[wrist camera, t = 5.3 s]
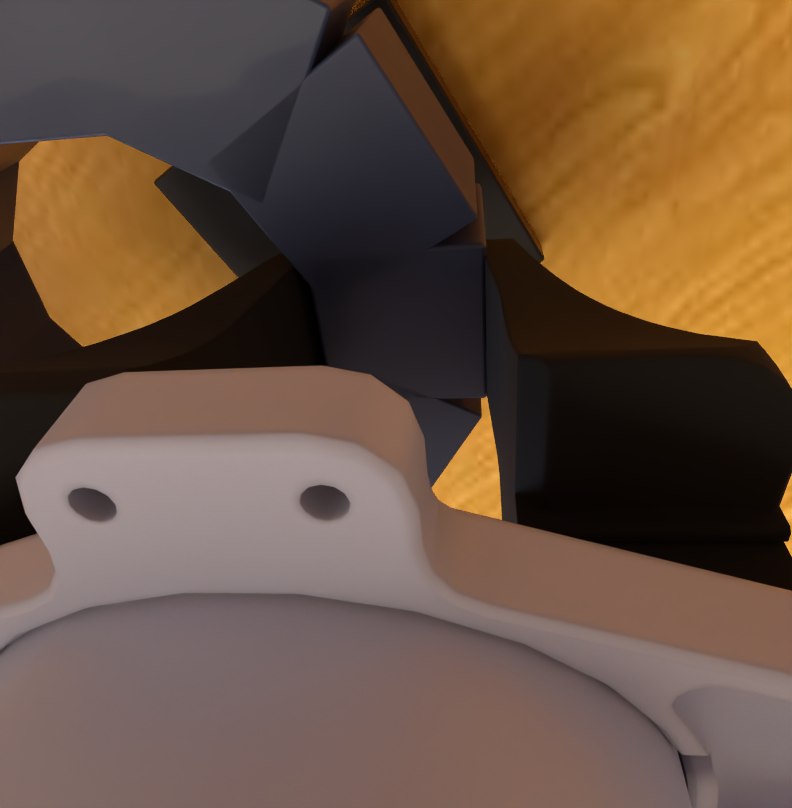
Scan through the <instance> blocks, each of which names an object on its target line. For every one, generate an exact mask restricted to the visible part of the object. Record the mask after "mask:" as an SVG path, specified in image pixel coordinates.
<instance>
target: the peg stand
mask: <svg viewBox="0 0 792 808" xmlns="http://www.w3.org/2000/svg"><path fill="white" fill-rule="evenodd" d="M376 8H380V9H382V11H383V13H384V14H385V16H386V17H387V19H388V21H389V22H390V24H391V25H392V27H393V29H394V30H395V32H396V34H397V35H398V37H399V38H400V40H401V42H402V43H403V45H404V47H405V48H406V50H407V51H408V53H409V55H410V56H411V58H412V59H413V61H414V63H415V64H416V66H417V68H418V69H419V71H420V72H421V74H422V76H423V77H424V79H425V81H426V82H427V84H428V85H429V87H430V89H431V90H432V92H433V94H434V95H435V97H436V98H437V100H438V102H439V103H440V105H441V106H442V108H443V110H444V111H445V113H446V115H447V116H448V118H449V119H450V121H451V123H452V124H453V126H454V128H455V129H456V131H457V132H458V134H459V136H460V137H461V139H462V140H463V142H464V144H465V145H466V147H467V149H468V150H469V152H470V153H471V155H472V157H473V158H474V170H475V183H478V184H480V185H481V188H482V200H483V212H484V225H485V237H486V240H489V239H506V238H513V239H515V240H516V241H517V242H518V243H519V244H520V245H521V246H522V247H523V248H524V249H525V250H526V251H527V252H528V253H529V254H530V255H531V256H532V257H533V258H534V259H536V260H537V261H538V262H539V263H540V262H542V261H543V260H544V255H543V251H542V247H541V244H540V242H539V240H538V239H537V237H536V235H535V234H534V232H533V230H532V229H531V227H530V225H529V224H528V222H527V220H526V219H525V217H524V215H523V214H522V212H521V210H520V208H519V207H518V205H517V203H516V202H515V200H514V198H513V197H512V195H511V193H510V192H509V190H508V188H507V187H506V185H505V183H504V182H503V180H502V178H501V177H500V175H499V173H498V171H497V170H496V168H495V166H494V165H493V163H492V161H491V160H490V158H489V156H488V155H487V153H486V151H485V150H484V148H483V146H482V145H481V143H480V141H479V140H478V138H477V136H476V134H475V133H474V131H473V129H472V128H471V126H470V124H469V123H468V121H467V119H466V118H465V116H464V114H463V113H462V111H461V109H460V108H459V106H458V104H457V103H456V101H455V99H454V97H453V96H452V94H451V92H450V91H449V89H448V87H447V86H446V84H445V82H444V81H443V79H442V77H441V76H440V74H439V72H438V71H437V69H436V67H435V65H434V64H433V62H432V60H431V59H430V57H429V55H428V54H427V52H426V50H425V49H424V47H423V45H422V44H421V42H420V40H419V39H418V37H417V35H416V34H415V32H414V30H413V28H412V27H411V25H410V23H409V22H408V20H407V18H406V17H405V15H404V13H403V12H402V10H401V8H400V7H399V5H398V3H397V2H396V0H368V1H367V2H366V3H365V4H364V5H362V6H361V7H360V8H359V9H358V10H356V11H355V12H354V13H353V14H352V15H350V16H349V19H348V22H347V24H346V27H345V30H344V33H343V36H344V35H345V34H347V33H348V32H349V31H350V30H351V29H352V28H354V27H355V26H356V25H357V24H358V23H360V22H361V21H362V20H363V19H364V18H366V17H367V16H368V15H369V14H370V13H372V12H373V11H374V10H375V9H376ZM343 36H342V37H343ZM154 183H155V185H156V186H157V187H158V188H159V189H160V191H161V192H162V193H163V194H164V195H165V196H166V197H167V198H168V200H169V201H170V202H171V203H172V204H173V205H174V206H175V207H176V208H177V210H178V211H179V212H180V213H181V214H182V215H183V216H184V217H185V219H186V220H187V221H188V222H189V223H190V224H191V225H192V226H193V227H194V229H195V230H196V231H197V232H198V233H199V234H200V235H201V236H202V238H203V239H204V240H205V241H206V242H207V243H208V244H209V245H210V247H211V248H212V249H213V250H214V251H215V252H216V253H217V254H218V255H219V257H220V258H221V259H222V260H223V261H224V262H225V263H226V264H227V266H228V267H229V268H230V269H231V270H232V271H233V272H234V273H235V274H236V276H237V277H238V278H239V277H241V276H243V275H244V274H246V273H247V272H249V271H250V270H252V269H254V268H255V267H257V266H258V265H260V264H262V263H263V262H265V261H267V260H268V259H270V258H272V257H274V256H275V255H277V254H280V253H281V251H280V250H279V249H278V248H277V247H276V245H275V244H274V243H273V242H272V241H271V240H270V238H269V237H268V236H267V235H266V234H265V232H264V231H263V230H262V229H261V228H260V227H259V225H258V224H257V223H256V222H255V221H254V219H253V218H252V217H251V216H250V215H249V214H248V212H247V211H246V210H245V209H244V208H243V206H242V205H241V204H240V203H239V202H238V201H237V199H236V198H235V197H234V196H233V195H232V193H231V192H230V191H228V190H225V189H223V188H221V187H219V186H217V185H215V184H212V183H210V182H208V181H206V180H204V179H201V178H199V177H197V176H195V175H193V174H190V173H188V172H186V171H184V170H182V169H179V168H177V167H175V166H173V165H172V166H171V167H170V168H169V169H167V170H166V171H165V172H164V173H163V174H162V175H160V176H159V177H158V178H157V179H156V180H155V182H154Z"/></svg>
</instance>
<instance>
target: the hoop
mask: <svg viewBox="0 0 792 808" xmlns="http://www.w3.org/2000/svg"><path fill="white" fill-rule="evenodd" d="M354 2H355V0H0V365H1V364H7V363H13V362H19V361H25V360H30V359H35V358H40V357H44V356H49V355H53V354H57V353H62V352H66V351H70V350H74V349H77V348H81V347H82V346H81V345H80V344H79V343H78V342H77V341H75V340H74V339H73V338H72V337H71V336H70V335H69V334H68V333H66V332H65V331H64V330H63V329H62V328H61V327H60V326H59V325H57V324H56V323H55V322H54V321H53V320H52V319H51V318H50V317H49V315H48V313H47V311H46V309H45V307H44V305H43V302H42V300H41V298H40V296H39V294H38V292H37V290H36V288H35V286H34V284H33V282H32V279H31V277H30V275H29V273H28V271H27V269H26V267H25V265H24V263H23V261H22V259H21V257H20V254H19V252H18V250H17V248H16V246H15V244H14V242H13V231H14V218H15V206H16V193H17V181H18V168H19V161H20V160H21V159H22V158H23V157H24V156H25V155H26V154H27V153H28V152H29V151H30V150H31V149H32V148H33V147H34V146H35V145H36V144H37V143H38V142H39V141H49V140H60V139H72V138H84V137H96V136H109V137H111V138H114V139H116V140H118V141H120V142H122V143H125V144H127V145H129V146H131V147H133V148H136V149H138V150H140V151H142V152H144V153H146V154H149V155H151V156H153V157H155V158H157V159H160V160H162V161H164V162H166V163H168V164H171V165H173V166H175V167H177V168H179V169H182V170H184V171H186V172H188V173H190V174H193V175H195V176H197V177H199V178H201V179H204V180H206V181H208V182H210V183H212V184H215V185H217V186H219V187H221V188H223V189H225V190H228V191H230V192H231V193H232V195H233V196H234V197H235V198H236V199H237V201H238V202H239V203H240V204H241V205H242V206H243V208H244V209H245V210H246V211H247V212H248V214H249V215H250V216H251V217H252V218H253V219H254V221H255V222H256V223H257V224H258V225H259V227H260V228H261V229H262V230H263V231H264V232H265V234H266V235H267V236H268V237H269V238H270V240H271V241H272V242H273V243H274V244H275V245H276V247H277V248H278V249H279V250H280V251H281V253H282V254H283V255H284V256H285V257H286V258H287V260H288V261H289V262H290V263H291V264H292V266H293V267H294V268H295V269H296V270H297V271H298V273H299V274H300V275H301V276H302V277H303V279H304V280H305V281H306V282H307V283H308V284H309V286H310V289H311V294H312V299H313V304H314V310H315V315H316V320H317V325H318V330H319V335H320V340H321V345H322V351H323V356H324V361H325V366H328V367H333V368H338V369H344V370H349V371H355V372H360V373H365V374H371V375H372V376H374V377H375V378H376V379H378V380H379V381H381V382H382V383H383V384H385V385H386V386H388V387H389V388H390V389H392V390H393V391H395V392H396V393H397V394H399V395H400V396H402V397H403V398H404V399H406V400H407V401H409V403H410V406H411V408H412V410H413V413H414V415H415V417H416V419H417V422H418V424H419V426H420V428H421V431H422V433H423V435H424V439H425V450H426V462H427V473H428V478H429V481H430V485H431V487H432V486H433V485H434V483H435V482H436V480H437V479H438V478H439V476H440V475H441V473H442V472H443V471H444V469H445V468H446V466H447V465H448V463H449V462H450V461H451V459H452V458H453V456H454V455H455V454H456V452H457V451H458V449H459V448H460V447H461V445H462V444H463V442H464V441H465V439H466V438H467V437H468V435H469V434H470V432H471V431H472V430H473V428H474V427H475V425H476V424H477V423H478V421H479V420H480V418H481V416H482V412H481V398H484V397H486V396H487V370H486V291H485V256H486V237H485V225H484V212H483V200H482V188H481V185H480V184H478V183H475V170H474V158H473V157H472V155H471V153H470V152H469V150H468V149H467V147H466V145H465V144H464V142H463V140H462V139H461V137H460V136H459V134H458V132H457V131H456V129H455V128H454V126H453V124H452V123H451V121H450V119H449V118H448V116H447V115H446V113H445V111H444V110H443V108H442V106H441V105H440V103H439V102H438V100H437V98H436V97H435V95H434V94H433V92H432V90H431V89H430V87H429V85H428V84H427V82H426V81H425V79H424V77H423V76H422V74H421V72H420V71H419V69H418V68H417V66H416V64H415V63H414V61H413V59H412V58H411V56H410V55H409V53H408V51H407V50H406V48H405V47H404V45H403V43H402V42H401V40H400V38H399V37H398V35H397V34H396V32H395V30H394V29H393V27H392V25H391V24H390V22H389V21H388V19H387V17H386V16H385V14H384V13H383V11H382V9H380V8H376V9H375V10H374V11H373V12H372V13H370V14H369V15H368V16H367V17H366V18H364V19H363V20H362V21H361V22H360V23H358V24H357V25H356V26H355V27H354V28H352V29H351V30H350V31H349V32H348V33H347V34H345V35H344V36H343V33H344V30H345V27H346V24H347V22H348V19H349V16H350V13H351V10H352V7H353V5H354ZM342 36H343V37H342Z"/></svg>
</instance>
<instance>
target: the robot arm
mask: <svg viewBox="0 0 792 808" xmlns="http://www.w3.org/2000/svg"><path fill="white" fill-rule="evenodd" d="M485 291H486V370H487V398H488V403H489V409H490V415H491V421H492V426H493V432H494V438H495V444H496V450H497V455H498V464H499V472H500V489H501V507H502V520H499V519H495V518H491V517H486V516H482V515H478V514H474V513H470V512H466V511H462V510H458V509H454V508H450V507H449V506H447V505H445V504H444V503H442V502H441V501H439V500H438V499H437V497H436V496H435V494H434V493H433V491H432V489H431V485H430V481H429V478H428V473H427V462H426V450H425V439H424V435H423V433H422V431H421V428H420V426H419V424H418V422H417V419H416V417H415V415H414V413H413V410H412V408H411V406H410V403H409V401H407V400H406V399H404V398H403V397H402V396H400V395H399V394H397V393H396V392H395V391H393V390H392V389H390V388H389V387H388V386H386V385H385V384H383V383H382V382H381V381H379V380H378V379H376V378H375V377H374V376H372V375H371V374H365V373H360V372H355V371H349V370H344V369H338V368H333V367H328V366H325V361H324V356H323V351H322V345H321V340H320V335H319V330H318V325H317V320H316V315H315V310H314V304H313V299H312V294H311V289H310V286H309V284H308V283H307V282H306V281H305V280H304V279H303V277H302V276H301V275H300V274H299V273H298V271H297V270H296V269H295V268H294V267H293V266H292V264H291V263H290V262H289V261H288V260H287V258H286V257H285V256H284V255H283V254H282V253H280V254H277V255H275V256H274V257H272V258H270V259H268V260H267V261H265V262H263V263H262V264H260V265H258V266H257V267H255V268H254V269H252V270H250V271H249V272H247V273H246V274H244V275H243V276H241V277H239V278H238V279H236V280H235V281H233V282H231V283H230V284H228V285H227V286H225V287H223V288H221V289H220V290H218V291H216V292H214V293H213V294H211V295H209V296H207V297H206V298H204V299H202V300H200V301H199V302H197V303H195V304H193V305H191V306H189V307H187V308H185V309H184V310H181V311H179V312H177V313H175V314H173V315H171V316H169V317H166V318H164V319H162V320H159V321H157V322H155V323H153V324H150V325H148V326H145V327H143V328H140V329H137V330H134V331H131V332H128V333H125V334H122V335H120V336H117V337H114V338H111V339H108V340H105V341H102V342H99V343H96V344H92V345H88V346H85V347H81V348H77V349H74V350H70V351H66V352H62V353H57V354H53V355H49V356H44V357H40V358H35V359H30V360H25V361H19V362H13V363H7V364H1V365H0V808H792V557H791V555H790V553H789V551H788V549H787V547H786V545H785V543H784V541H788V540H789V537H790V535H791V530H790V525H789V523H788V521H787V520H786V518H785V516H784V514H783V512H782V510H781V508H780V503H781V501H782V498H783V495H784V493H785V490H786V487H787V484H788V482H789V479H790V476H791V474H792V388H791V387H790V385H789V384H788V382H787V380H786V379H785V377H784V376H783V374H782V373H781V371H780V370H779V368H778V367H777V365H776V364H775V363H774V361H773V360H772V359H771V358H770V356H769V355H768V354H767V353H766V351H765V350H764V349H763V348H762V347H761V346H760V344H759V343H758V342H757V341H750V340H742V339H734V338H726V337H719V336H711V335H703V334H697V333H692V332H688V331H683V330H679V329H674V328H670V327H666V326H662V325H658V324H655V323H651V322H648V321H645V320H642V319H639V318H636V317H633V316H630V315H628V314H625V313H622V312H619V311H617V310H615V309H612V308H610V307H608V306H605V305H603V304H601V303H599V302H597V301H595V300H593V299H592V298H590V297H588V296H586V295H584V294H582V293H580V292H579V291H577V290H575V289H574V288H572V287H571V286H569V285H568V284H567V283H565V282H564V281H562V280H561V279H559V278H558V277H556V276H555V275H554V274H552V273H551V272H550V271H549V270H547V269H546V268H545V267H544V266H543V265H541V264H540V263H539V262H538V261H537V260H536V259H534V258H533V257H532V256H531V255H530V254H529V253H528V252H527V251H526V250H525V249H524V248H523V247H522V246H521V245H520V244H519V243H518V242H517V241H516V240H515V239H513V238H506V239H489V240H486V256H485Z"/></svg>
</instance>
